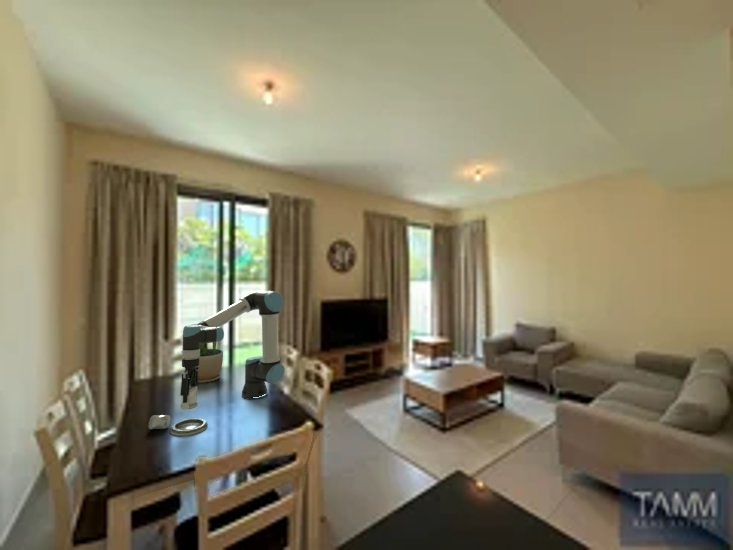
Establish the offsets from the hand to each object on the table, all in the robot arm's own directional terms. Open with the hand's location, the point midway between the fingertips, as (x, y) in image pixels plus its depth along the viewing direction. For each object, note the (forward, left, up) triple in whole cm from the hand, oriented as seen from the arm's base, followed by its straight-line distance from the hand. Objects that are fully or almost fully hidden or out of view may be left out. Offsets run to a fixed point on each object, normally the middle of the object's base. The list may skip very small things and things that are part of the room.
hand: (189, 405), depth 166 cm
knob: (0, 0, 0) cm, 0 cm away
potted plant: (+20, -76, -11) cm, 80 cm away
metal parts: (+4, 0, -11) cm, 12 cm away
